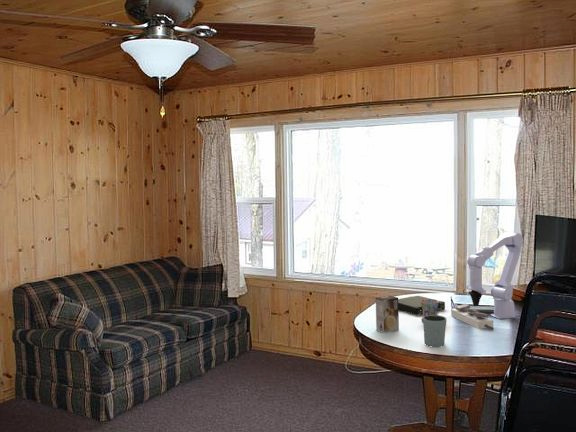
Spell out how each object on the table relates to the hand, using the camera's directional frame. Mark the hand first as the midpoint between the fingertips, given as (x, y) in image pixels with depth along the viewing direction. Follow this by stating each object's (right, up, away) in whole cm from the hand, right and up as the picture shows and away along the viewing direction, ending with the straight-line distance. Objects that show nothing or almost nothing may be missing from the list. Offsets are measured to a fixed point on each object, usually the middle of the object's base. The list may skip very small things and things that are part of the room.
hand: (475, 305), depth 288 cm
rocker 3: (-1, -4, -8) cm, 9 cm away
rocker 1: (-4, -3, +7) cm, 9 cm away
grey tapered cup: (-30, -12, -36) cm, 48 cm away
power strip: (-2, -8, -3) cm, 9 cm away
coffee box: (-47, -10, -12) cm, 49 cm away
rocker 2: (-2, -3, 0) cm, 4 cm away
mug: (-22, -8, +3) cm, 24 cm away
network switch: (-23, -7, +28) cm, 37 cm away
